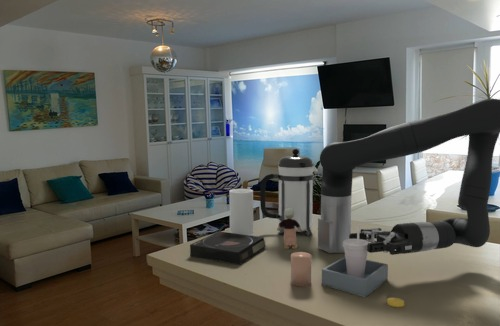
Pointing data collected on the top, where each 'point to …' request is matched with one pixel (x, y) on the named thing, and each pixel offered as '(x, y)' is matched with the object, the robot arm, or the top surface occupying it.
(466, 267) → the top surface
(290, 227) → the grandmother figurine
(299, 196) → the coffee press
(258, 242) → the portable cd player
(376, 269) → the tote
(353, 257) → the smoothie
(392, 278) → the top surface
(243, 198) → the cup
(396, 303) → the yellow disc
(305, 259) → the canister
